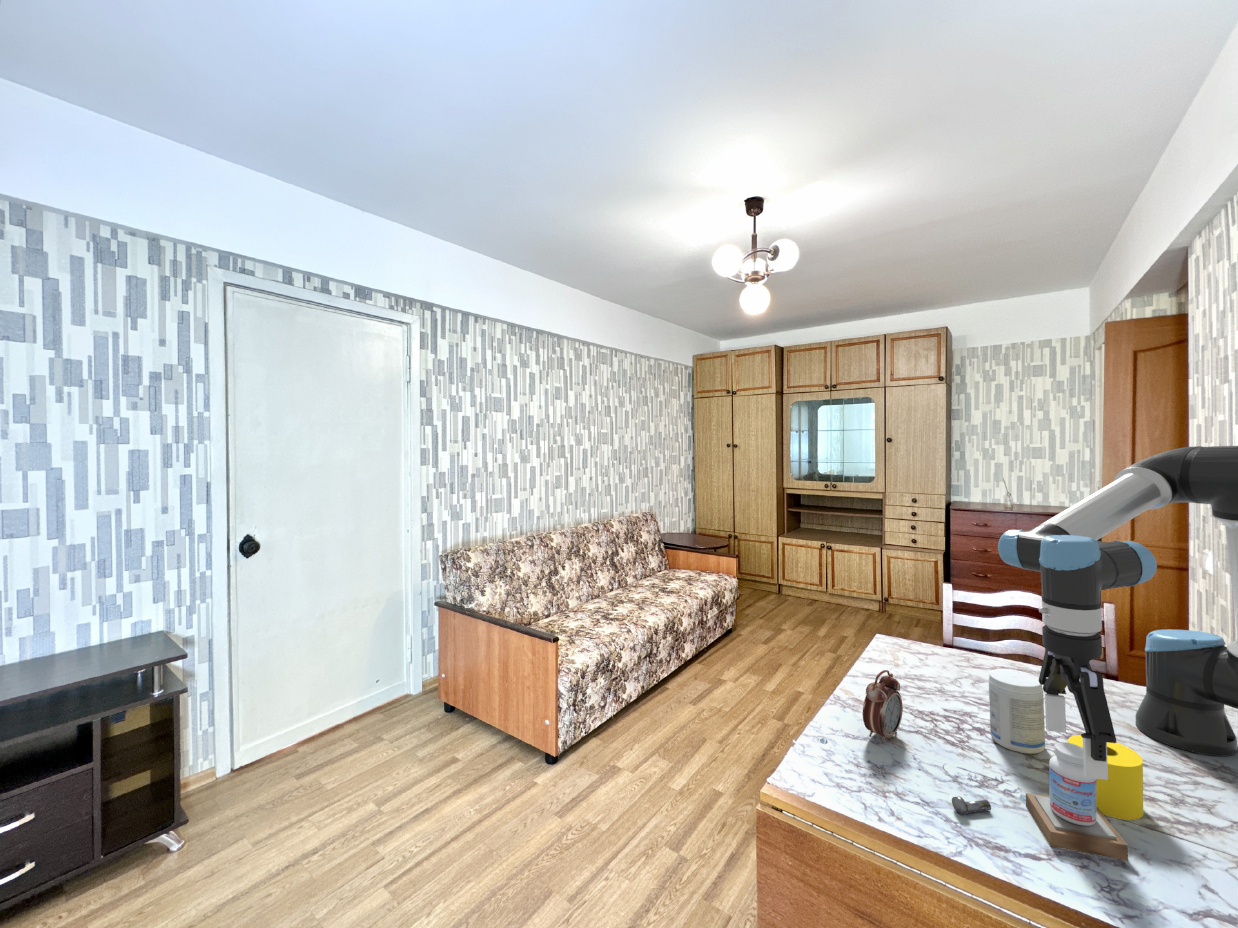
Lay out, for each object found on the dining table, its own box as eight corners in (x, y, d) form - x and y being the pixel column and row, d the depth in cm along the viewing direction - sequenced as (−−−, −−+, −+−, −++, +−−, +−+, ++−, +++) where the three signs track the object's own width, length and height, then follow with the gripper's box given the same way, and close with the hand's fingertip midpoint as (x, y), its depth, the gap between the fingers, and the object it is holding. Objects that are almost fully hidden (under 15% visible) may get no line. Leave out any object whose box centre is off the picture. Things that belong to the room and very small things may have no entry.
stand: (1094, 817, 91) (1094, 801, 90) (1128, 860, 81) (1128, 842, 81) (1025, 806, 94) (1025, 790, 94) (1050, 846, 85) (1050, 828, 84)
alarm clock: (882, 749, 113) (881, 681, 112) (861, 740, 117) (859, 674, 116) (905, 731, 119) (903, 667, 119) (883, 723, 123) (882, 661, 123)
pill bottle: (1049, 817, 87) (1048, 751, 87) (1049, 797, 92) (1048, 735, 92) (1098, 833, 83) (1097, 764, 83) (1095, 811, 88) (1095, 747, 88)
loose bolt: (981, 804, 95) (981, 790, 95) (993, 814, 92) (993, 800, 92) (951, 807, 94) (951, 793, 94) (962, 817, 92) (962, 803, 92)
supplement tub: (1052, 745, 112) (1051, 678, 112) (1035, 761, 107) (1034, 691, 107) (1000, 726, 120) (999, 664, 120) (981, 740, 115) (980, 675, 115)
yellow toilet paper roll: (1073, 776, 102) (1072, 729, 102) (1145, 800, 94) (1144, 750, 94) (1064, 799, 95) (1063, 749, 95) (1141, 828, 88) (1140, 774, 88)
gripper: (1015, 604, 100) (1018, 712, 100) (1080, 655, 76) (1084, 796, 77) (1063, 606, 97) (1066, 717, 98) (1145, 660, 74) (1149, 805, 74)
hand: (1074, 752), depth 87 cm, fingers open, 13 cm apart
